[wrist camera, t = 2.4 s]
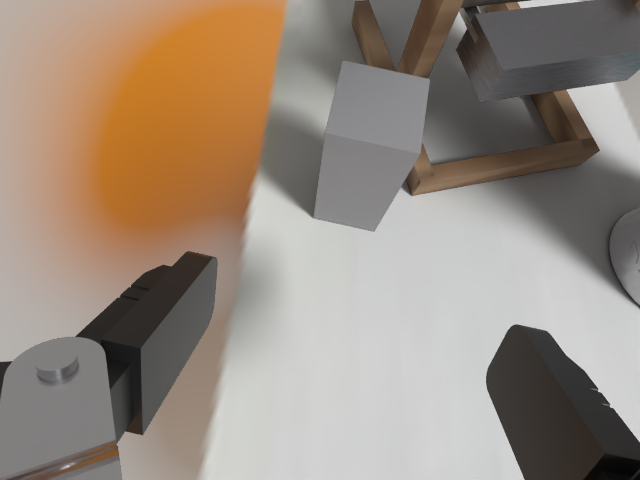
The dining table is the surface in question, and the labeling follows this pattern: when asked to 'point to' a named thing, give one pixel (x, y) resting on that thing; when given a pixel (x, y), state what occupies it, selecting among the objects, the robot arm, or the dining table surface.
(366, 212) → the basalt block
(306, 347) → the dining table surface
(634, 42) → the trapdoor plate
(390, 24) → the dining table surface
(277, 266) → the dining table surface
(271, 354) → the dining table surface
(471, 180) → the brown wooden frame
